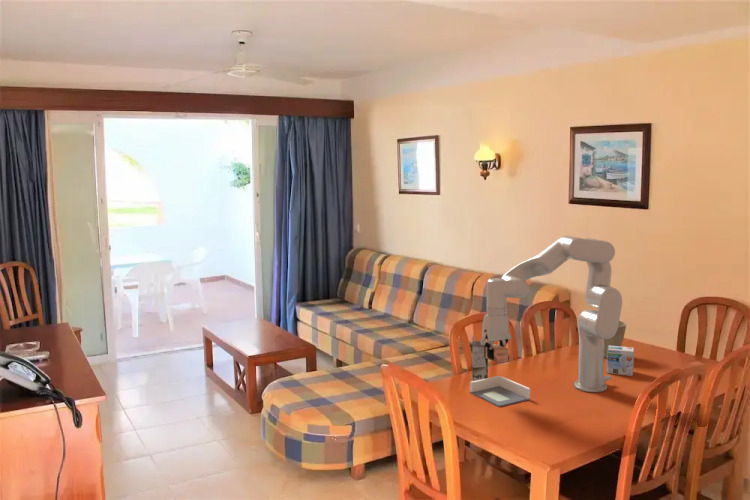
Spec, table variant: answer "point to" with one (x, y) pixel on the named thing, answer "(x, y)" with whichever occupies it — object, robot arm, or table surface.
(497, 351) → the block
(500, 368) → the table surface
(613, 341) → the plant pot
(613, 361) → the light bulb box
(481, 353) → the coffee box
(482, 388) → the corner arena
